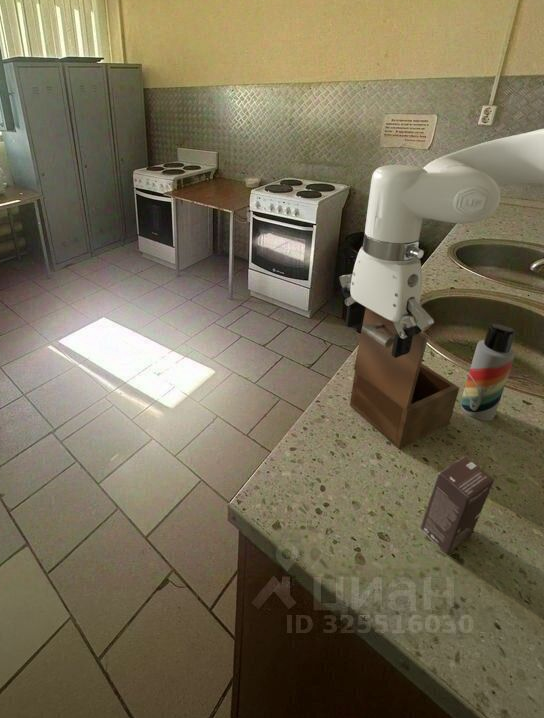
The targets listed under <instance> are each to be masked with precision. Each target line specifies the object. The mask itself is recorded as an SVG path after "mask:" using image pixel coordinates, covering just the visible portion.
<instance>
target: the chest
mask: <svg viewBox="0 0 544 718" xmlns="http://www.w3.org/2000/svg"><path fill="white" fill-rule="evenodd" d="M351 387H352V388H351V394H350V401H349V407H351V408H352V409H353V410H354V411H355V412H356V413H357V414H358V415H359V416H360V417H362V418H363V419H364V420H365V421H366V422H368V424H369V425H370V426H372V427H373V428H374V429H375V430H377V432H378V433H380V434H381V435H382V436H383V437H384V438H385V439H386V440H387V441H389V443H390V444H392V445H393V446H394V447H395V448H396V449H397V450H401V449H402V448H405V447H407V446H409V445H410V444H412V443H414V442H417V441H419V440H421V439H422V438H425V437H426V436H428V435H430V434H432V433H434V432H436V431H438V430H440V429H442V428H444V427H446V426H448V425H450V423H451V419H452V416H453V414H454V410H455V406H456V403H457V398H458V394H459V391H460V386H458V385H456V384H455V383H453V382H452V381H450V380H449V379H447V378H445V377H444V376H443V375H441V374H440V373H438V372H436V371H435V370H433V369H432V368H430V367H428V366H426V365H425V364H423V362H422V363H421V367H420V371H419V374H418V378H417V382H416V386H415V389H414V393H413V397H412V401H411V404H410V408H409V409H408V410H405V409H404V408H403V407H402V406H400V405H399V404H398V403H396V402H395V401H394V400H393V399H391V398H390V397H389V396H387V395H386V394H385V393H384V392H382V391H381V390H380V389H378V388H377V387H376V386H375V385H373V384H372V383H371V382H369V381H368V380H367V379H366V378H364V377H363V376H362V375H360V374H359V373H358V372H357V371H355V370H354V374H353V380H352V386H351Z"/></svg>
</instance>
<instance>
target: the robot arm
mask: <svg viewBox="0 0 544 718" xmlns="http://www.w3.org/2000/svg"><path fill="white" fill-rule="evenodd" d="M514 185H544V128H540V129H536V130H532V131H528V132H524V133H523V132H522V133H519V134H514V135H510V136H506V137H505V136H504V137H501V138H496V139H493V140H489V141H485V142H481V143H478V144H475V145H472V146H469V147H466V148H463V149H460V150H457V151H455V152H451V153H449V154H445V155H442V156H441V157H438V158H436V159H434V160H432V161H430V162H429V163H427V164H426V165H425V166H424V167H420V166H417V165H416V166H415V165H409V164H408V165H407V164H388V165H383V166H380V167H377V168H376V169H375V170H374V172H373V173H372V175H371V180H370V187H369V196H368V202H367V203H368V204H367V211H366V219H365V220H366V221H365V227H364V234H363V242H362V246H361V247H360V249H359V251H358V253H357V256H356V259H355V262H354V266H353V270H352V273H348V274H344V275H343V274H342V275H340V276H339V282H340V286H341V287H342V288H341V293H342V294H343V297H344V298H345V300H344V304H345V305H346V306H347V308H346V309H347V310H346V316H345V326H346V327H347V328H351V327H354V326H357V325H360V324H361V323H362V322H363V321H362V320H363V313H364V307H365V308H366V307H367V308H369V309H370V310H372V311H374V312H376V313H377V314H379V315H381V316H383V317H384V318H386V319H388V320H390V321H393V323H394V325H395V327H396V330H397V332H398V334H397V335H395V336H394V342H393V348H392V353H391V354H392V356H393V357H395V358H397V357H399V356H402V355H404V354H407V353H409V351H410V349H411V343H412V338H413V336H414V335H417V334H419V333H422V334H423V333H424V332H426V331H427V330H428V329H429V328H430V327H431V326H433V325H434V323H435V321H434V318H433V317H432V316H431V315H430V314H429V313H428V312H427V311H426V310H425V309H424V308H423V306H422V305H421V297H422V284H423V283H422V282H423V272H422V263H421V258H423V257H424V252H425V251H424V250H423V249H421V248H419V245H420V241H419V240H420V237H421V231H422V225H423V219H427V220H433V221H439V222H445V223H451V224H460V225H461V224H463V225H466V224H473V223H477V222H481V221H483V220H484V219H487V218H489V217H490V216H491V215H492V214H493V213H495V211H496V210H497V209H498V207H499V206H500V202H501V198H502V197H501V196H502V195H501V189H500V188H501V187H506V186H514ZM413 317H414V318H415V319H416V321H417V322H416V323H415V321H414V318H413ZM402 322H403V323H404V324H406V326H407V329H405V327H404V325H403V323H402Z"/></svg>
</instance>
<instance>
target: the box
mask: <svg viewBox="0 0 544 718" xmlns="http://www.w3.org/2000/svg"><path fill="white" fill-rule="evenodd" d="M494 482H495V478H493V477H492V476H491V475H489V474H488V473H487V472H486V471H484V470H483V469H481V468H480V467H479V466H478V465H476V464H475V463H474V462H473V461H471V460H470V459H469V458H467V457H466V456H462V457H461V458H459V459H458V460H457V461H454V462H452V463H450V464H449V465H448V466H447V467H445V469H443V470H441V471H439V472H438V474H437V477H436V480H435V483H434V486H433V489H432V491H431V495H430V498H429V501H428V503H427V507H426V509H425V511H424V515H423V518H422V521H421V525H420V527H419V529H420V531H422V532H423V534H424V535H425V536H427V538H428V539H430V541H431V542H433V543H434V544H435V546H436V547H438V548H439V549H440V550H441V551H442V552H443V553H444V554H445V555H446V556H448V555H450V554H451V553H452V552H453V551H454V550H455V549H456V548H458V547H459V546H460V545H461V544H462V543H464V542H465V541H466V540H468V539H469V538H470V537H471V536H472V535H473V532H474V530H475V528H476V526H477V523H478V520H479V518H480V516H481V513H482V510H483V508H484V505H485V503H486V500H487V499H488V496H489V494H490V491H491V489H492V487H493V484H494Z"/></svg>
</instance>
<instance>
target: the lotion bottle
mask: <svg viewBox="0 0 544 718" xmlns="http://www.w3.org/2000/svg"><path fill="white" fill-rule="evenodd" d="M515 336H516V330H515V328H513V327H510V326H508V325H504V324H502V323H498V322H489V324H488V328H487V331H486V335H485V336H484V337H485V338H484V339H483V340H480V341H478V342H477V345H476V347H475V351H474V354H473V358H472V361H471V364H470V368H469V371H468V375H467V379H466V382H465V385H464V389H463V393H462V396H461V400H460V407H461V409H462V411H463V412H464V413H465V414H466V415H468V416H469V417H471V418H473V419H476V420H479V421H483V422H490V421H492V420H494V418H495V416H496V414H497V411H498V408H499V405H500V402H501V399H502V396H503V393H504V390H505V387H506V384H507V382H508V378H509V376H510V372H511V369H512V366H513V363H514V361H515V355H516V354H515V352H514V350H513V349H512V345H513V342H514V338H515Z"/></svg>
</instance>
